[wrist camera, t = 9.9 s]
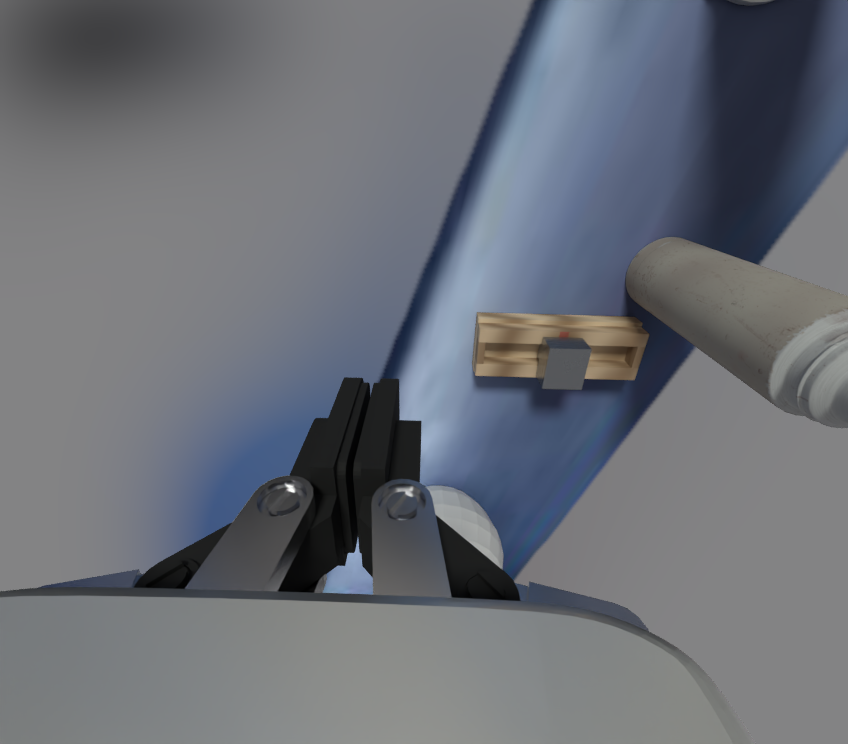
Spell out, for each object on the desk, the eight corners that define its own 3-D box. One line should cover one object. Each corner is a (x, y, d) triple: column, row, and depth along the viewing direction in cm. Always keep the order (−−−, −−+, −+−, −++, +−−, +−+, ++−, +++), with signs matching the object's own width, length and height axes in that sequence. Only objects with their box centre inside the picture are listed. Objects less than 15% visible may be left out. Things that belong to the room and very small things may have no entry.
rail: (472, 365, 51) (475, 381, 48) (476, 312, 48) (480, 325, 44) (619, 369, 51) (632, 385, 48) (634, 316, 48) (651, 330, 44)
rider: (531, 366, 49) (541, 388, 44) (538, 329, 46) (549, 348, 42) (567, 368, 48) (581, 389, 44) (576, 330, 46) (591, 349, 42)
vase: (368, 472, 61) (319, 714, 35) (487, 457, 59) (531, 701, 33) (394, 549, 69) (372, 789, 43) (499, 538, 67) (541, 781, 41)
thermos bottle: (701, 291, 46) (1007, 452, 21) (630, 316, 48) (840, 491, 23) (696, 224, 42) (1055, 325, 18) (620, 253, 44) (854, 381, 20)
